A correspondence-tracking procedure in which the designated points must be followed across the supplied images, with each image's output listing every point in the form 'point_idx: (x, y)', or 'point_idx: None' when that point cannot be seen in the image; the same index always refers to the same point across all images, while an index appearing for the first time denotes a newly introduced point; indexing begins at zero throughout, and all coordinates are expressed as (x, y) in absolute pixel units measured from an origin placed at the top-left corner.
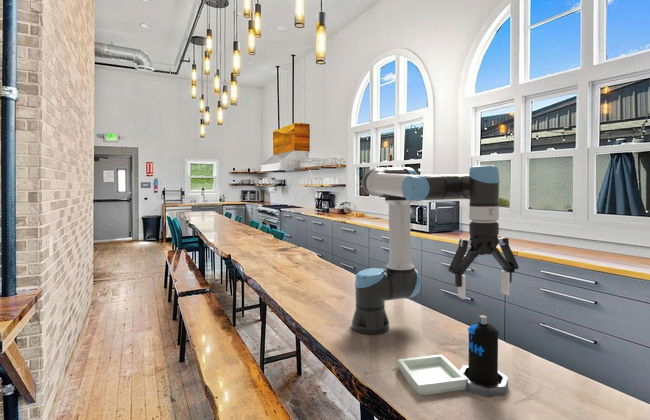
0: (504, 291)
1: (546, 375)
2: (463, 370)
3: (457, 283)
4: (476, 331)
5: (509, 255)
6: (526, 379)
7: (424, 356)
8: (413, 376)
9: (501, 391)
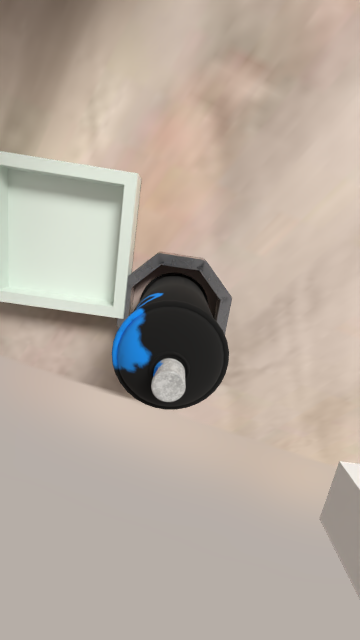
0: (338, 514)
1: (341, 331)
2: (143, 273)
3: None
4: (122, 375)
5: None
6: (283, 327)
7: (75, 164)
8: None
9: None
